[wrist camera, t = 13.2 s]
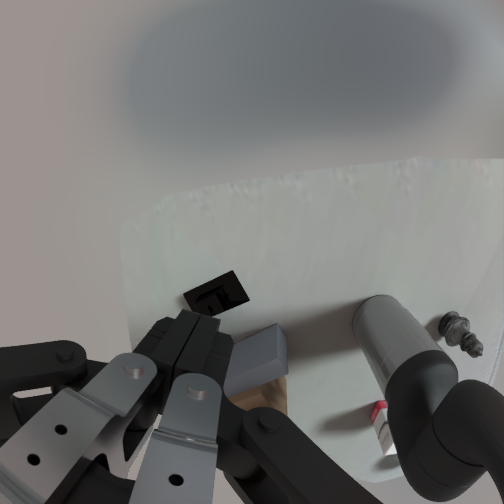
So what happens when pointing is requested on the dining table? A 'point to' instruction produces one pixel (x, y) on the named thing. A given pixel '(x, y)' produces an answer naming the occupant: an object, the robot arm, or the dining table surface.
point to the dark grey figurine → (459, 334)
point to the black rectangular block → (217, 295)
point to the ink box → (383, 428)
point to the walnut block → (264, 396)
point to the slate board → (256, 361)
